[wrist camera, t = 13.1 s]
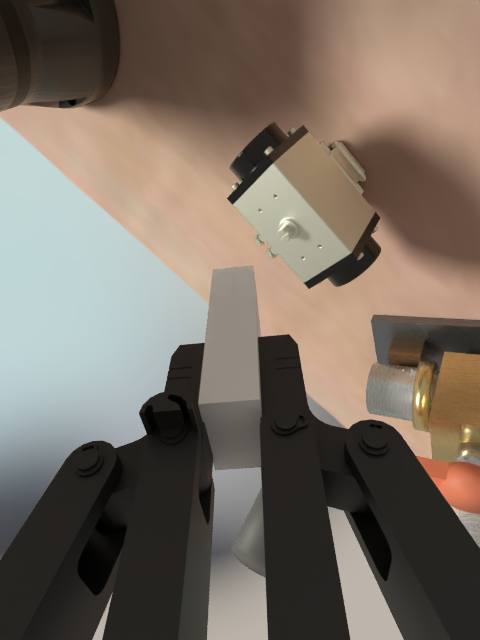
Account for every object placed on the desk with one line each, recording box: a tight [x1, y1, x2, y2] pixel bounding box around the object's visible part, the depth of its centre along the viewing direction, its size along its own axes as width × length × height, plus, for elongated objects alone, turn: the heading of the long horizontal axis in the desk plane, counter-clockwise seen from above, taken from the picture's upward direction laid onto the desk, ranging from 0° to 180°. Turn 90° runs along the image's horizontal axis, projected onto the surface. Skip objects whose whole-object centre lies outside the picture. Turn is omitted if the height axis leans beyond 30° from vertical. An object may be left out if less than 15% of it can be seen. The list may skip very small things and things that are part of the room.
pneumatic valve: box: [227, 122, 381, 289], centre depth 32 cm, size 6×12×12 cm, turn 50°
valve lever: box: [231, 456, 480, 577], centre depth 31 cm, size 17×4×12 cm, turn 110°
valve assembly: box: [366, 315, 480, 466], centre depth 36 cm, size 20×9×13 cm, turn 109°
